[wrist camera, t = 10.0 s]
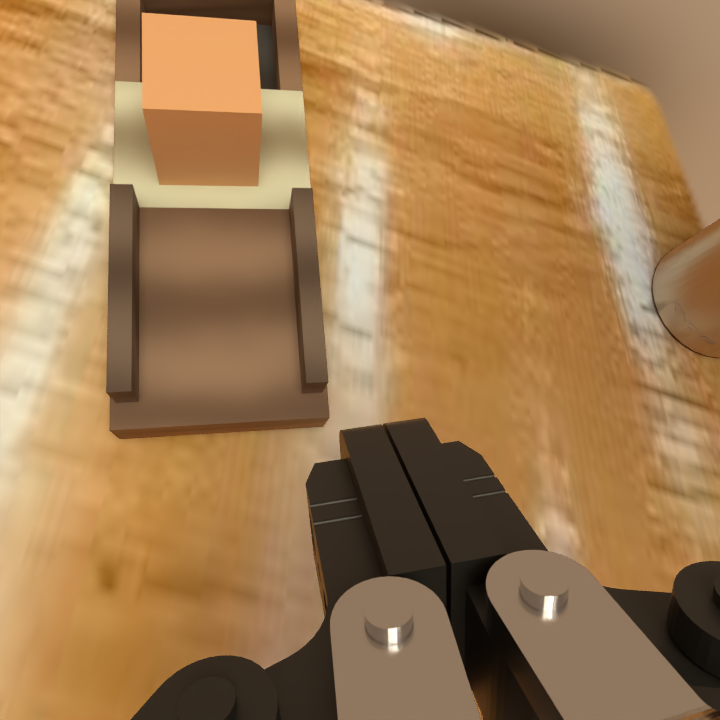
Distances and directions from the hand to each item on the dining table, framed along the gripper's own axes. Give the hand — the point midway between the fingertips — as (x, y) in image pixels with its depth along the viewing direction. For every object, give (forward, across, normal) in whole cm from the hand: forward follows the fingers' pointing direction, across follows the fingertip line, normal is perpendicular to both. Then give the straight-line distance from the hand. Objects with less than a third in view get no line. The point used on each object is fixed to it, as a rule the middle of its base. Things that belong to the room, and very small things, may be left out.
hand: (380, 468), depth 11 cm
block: (+33, +4, -4) cm, 34 cm away
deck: (+34, +4, 0) cm, 34 cm away
